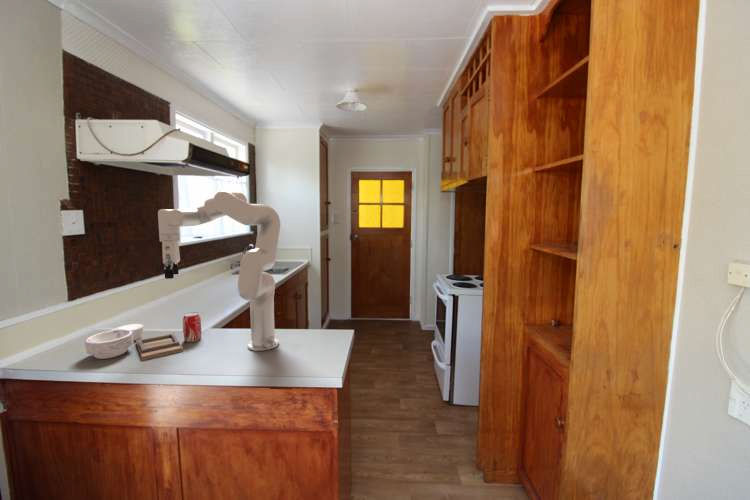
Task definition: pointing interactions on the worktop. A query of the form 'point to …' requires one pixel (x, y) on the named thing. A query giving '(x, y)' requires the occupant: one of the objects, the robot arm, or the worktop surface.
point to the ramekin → (133, 330)
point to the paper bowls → (109, 343)
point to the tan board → (159, 351)
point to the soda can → (192, 327)
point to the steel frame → (159, 345)
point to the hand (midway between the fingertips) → (172, 276)
